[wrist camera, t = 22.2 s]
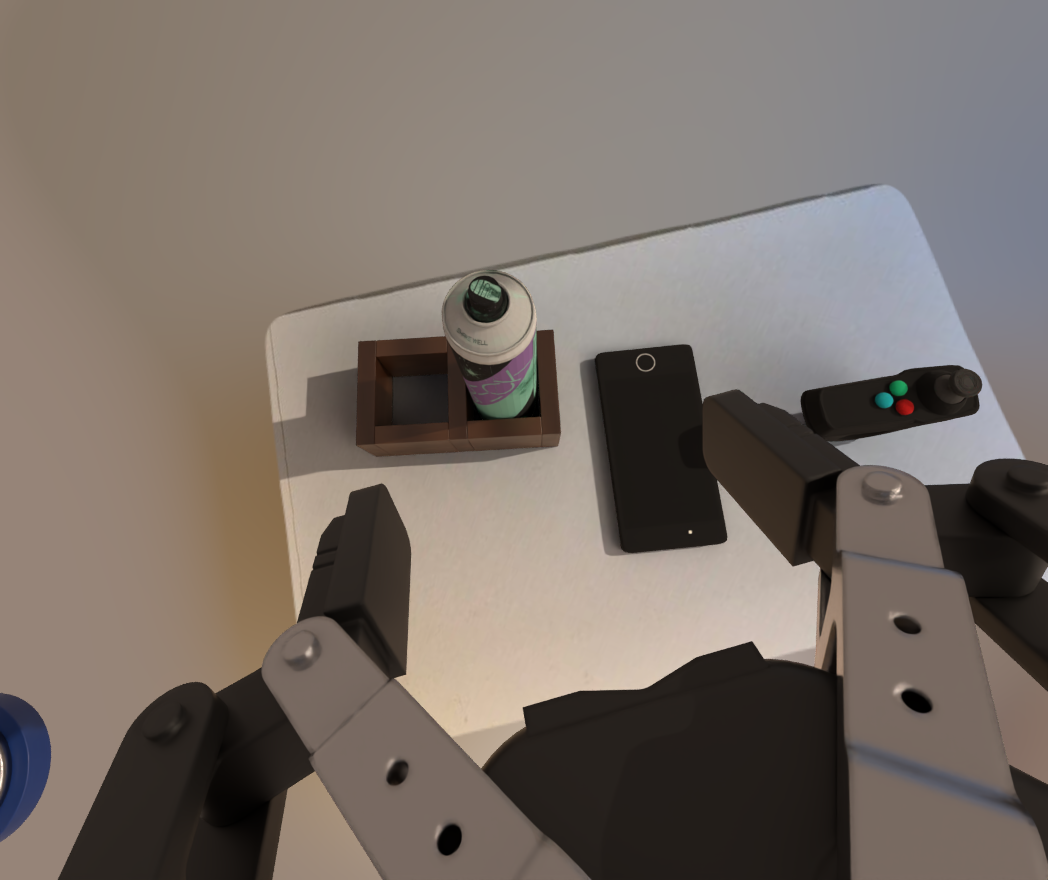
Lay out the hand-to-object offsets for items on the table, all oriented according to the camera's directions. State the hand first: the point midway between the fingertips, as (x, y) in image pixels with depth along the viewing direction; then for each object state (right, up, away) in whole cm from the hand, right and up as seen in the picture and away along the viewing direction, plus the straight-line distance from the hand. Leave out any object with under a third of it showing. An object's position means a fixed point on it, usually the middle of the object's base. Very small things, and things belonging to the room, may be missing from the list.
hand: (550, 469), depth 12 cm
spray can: (-2, +4, +33) cm, 33 cm away
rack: (-6, +4, +32) cm, 33 cm away
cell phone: (+11, 0, +31) cm, 33 cm away
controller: (+27, +2, +31) cm, 42 cm away
